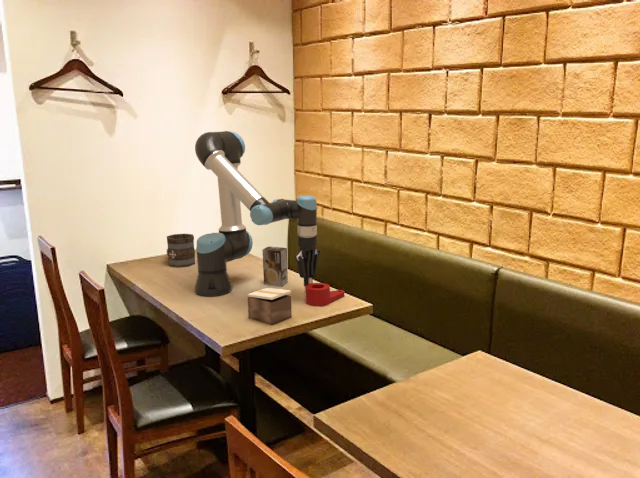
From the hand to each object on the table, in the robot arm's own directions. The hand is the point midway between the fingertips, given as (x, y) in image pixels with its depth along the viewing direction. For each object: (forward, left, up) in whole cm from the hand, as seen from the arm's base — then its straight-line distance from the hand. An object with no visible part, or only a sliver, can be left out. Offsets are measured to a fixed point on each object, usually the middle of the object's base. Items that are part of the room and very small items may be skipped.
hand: (308, 293), depth 225 cm
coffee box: (-23, +6, -2) cm, 24 cm away
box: (+3, -25, -2) cm, 26 cm away
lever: (+7, +3, -2) cm, 8 cm away
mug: (-83, +1, -2) cm, 83 cm away
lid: (-3, -25, +6) cm, 26 cm away
